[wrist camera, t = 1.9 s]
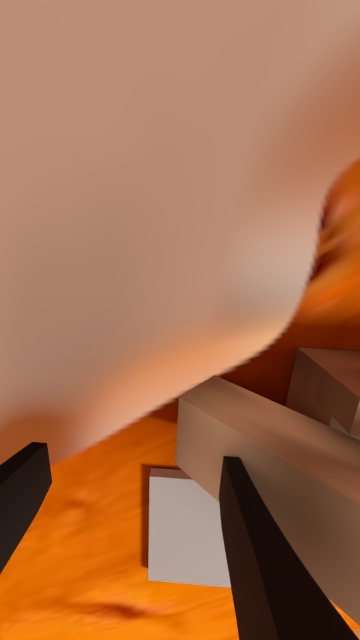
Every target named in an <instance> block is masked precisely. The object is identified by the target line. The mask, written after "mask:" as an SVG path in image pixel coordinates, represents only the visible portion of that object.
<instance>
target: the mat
mask: <svg viewBox="0 0 360 640" xmlns="http://www.w3.org/2000/svg"><path fill="white" fill-rule="evenodd" d="M148 580H151V581H163V582H174V583H185V584H196V585H207V586H219V587H230V588H231V583H230V577H229V571H228V565H227V559H226V553H225V547H224V541H223V535H222V529H221V518H220V505H219V502H218V501H217V500H216V499H215V498H214V497H212V496H211V495H210V494H209V493H208V492H207V491H206V490H204V489H203V488H202V487H201V486H200V485H199V484H198V483H196V482H195V481H194V480H193V479H192V478H191V477H190V476H188V475H187V474H186V473H185V472H184V471H183V470H174V469H160V468H151V472H150V485H149V558H148Z"/></svg>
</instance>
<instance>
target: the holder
mask: <svg viewBox="0 0 360 640" xmlns="http://www.w3.org/2000/svg"><path fill="white" fill-rule="evenodd" d="M285 407H287V408H289V409H291V410H294V411H296V412H298V413H300V414H302V415H305V416H307V417H309V418H311V419H314V420H316V421H318V422H320V423H323V424H325V425H327V426H329V427H332V428H334V429H336V430H338V431H340V432H343V433H345V434H347V435H349V436H352V437H354V438H356V439H358V440H360V351H354V350H337V349H320V348H303V347H297V351H296V356H295V361H294V366H293V371H292V376H291V381H290V386H289V391H288V396H287V401H286V406H285Z"/></svg>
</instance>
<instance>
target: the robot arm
mask: <svg viewBox="0 0 360 640" xmlns="http://www.w3.org/2000/svg"><path fill="white" fill-rule="evenodd" d="M51 483H52V477H51V470H50V463H49V455H48V448H47V443H38V442H32V443H30V444H29V445H27V446H26V447H25V448H23V449H22V450H20V451H19V452H18V453H16V454H15V455H13V456H12V457H11V458H9V459H8V460H7V461H6V462H4V463H3V464H1V465H0V574H1V572H2V570H3V569H4V567H5V566H6V564H7V562H8V561H9V559H10V557H11V556H12V554H13V552H14V551H15V549H16V547H17V546H18V544H19V543H20V541H21V539H22V538H23V536H24V534H25V533H26V531H27V529H28V528H29V526H30V524H31V523H32V521H33V519H34V518H35V516H36V514H37V512H38V510H39V508H40V506H41V504H42V502H43V500H44V498H45V496H46V494H47V492H48V490H49V488H50V485H51ZM219 505H220V518H221V529H222V535H223V541H224V547H225V553H226V559H227V565H228V571H229V577H230V583H231V589H232V595H233V601H234V607H235V613H236V619H237V626H238V633H239V640H359V639H358V638H357V636H356V635H355V634H354V632H353V631H352V630H351V629H350V627H349V626H348V625H347V623H346V622H345V621H344V619H343V618H342V617H341V615H340V614H339V613H338V611H337V610H336V609H335V607H334V606H333V605H332V603H331V602H330V601H329V599H328V598H327V597H326V595H325V594H324V592H323V591H322V590H321V588H320V587H319V585H318V584H317V583H316V581H315V580H314V579H313V577H312V576H311V574H310V573H309V571H308V570H307V569H306V567H305V566H304V564H303V563H302V561H301V560H300V558H299V557H298V555H297V554H296V552H295V551H294V549H293V548H292V546H291V545H290V543H289V542H288V540H287V539H286V537H285V536H284V534H283V532H282V531H281V529H280V528H279V526H278V524H277V523H276V521H275V520H274V518H273V516H272V515H271V513H270V511H269V510H268V508H267V506H266V505H265V503H264V501H263V499H262V498H261V496H260V494H259V492H258V491H257V489H256V487H255V485H254V484H253V482H252V480H251V478H250V476H249V474H248V472H247V470H246V468H245V466H244V464H243V462H242V460H241V459H240V458H239V457H231V456H223V464H222V472H221V480H220V488H219Z"/></svg>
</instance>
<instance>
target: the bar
mask: <svg viewBox="0 0 360 640" xmlns="http://www.w3.org/2000/svg"><path fill="white" fill-rule="evenodd" d="M223 456H231V457H239V458H240V459H241V460H242V462H243V464H244V466H245V468H246V470H247V472H248V474H249V476H250V478H251V480H252V482H253V484H254V485H255V487H256V489H257V491H258V492H259V494H260V496H261V498H262V499H263V501H264V503H265V505H266V506H267V508H268V510H269V511H270V513H271V515H272V516H273V518H274V520H275V521H276V523H277V524H278V526H279V528H280V529H281V531H282V532H283V534H284V536H285V537H286V539H287V540H288V542H289V543H290V545H291V546H292V548H293V549H294V551H295V552H296V554H297V555H298V557H299V558H300V560H301V561H302V563H303V564H304V566H305V567H306V569H307V570H308V571H309V573H310V574H311V576H312V577H313V579H314V580H315V581H316V583H317V584H318V585H319V587H320V588H321V590H322V591H323V592H324V594H325V595H326V596H327V597H328V598H329V599H330V600H331V601H332V602H333V603H335V604H336V605H337V606H338V607H339V608H340V609H341V610H342V611H344V612H345V613H346V614H347V615H348V616H349V617H350V618H352V619H353V620H354V621H355V622H356V623H357V624H358V625H360V440H358V439H356V438H354V437H352V436H349V435H347V434H345V433H343V432H340V431H338V430H336V429H334V428H332V427H329V426H327V425H325V424H323V423H320V422H318V421H316V420H314V419H311V418H309V417H307V416H305V415H302V414H300V413H298V412H296V411H294V410H291V409H289V408H287V407H285V406H282V405H280V404H278V403H276V402H273V401H271V400H269V399H267V398H264V397H262V396H260V395H258V394H256V393H253V392H251V391H249V390H247V389H244V388H242V387H240V386H238V385H235V384H233V383H231V382H229V381H227V380H224V379H222V378H220V377H218V376H213V377H211V378H210V379H208V380H206V381H205V382H203V383H201V384H200V385H198V386H196V387H195V388H193V389H191V390H190V391H188V392H186V393H185V394H183V395H181V396H180V397H179V405H178V424H177V444H176V463H175V464H176V465H177V466H178V467H179V468H180V469H182V470H183V471H184V472H185V473H186V474H187V475H188V476H190V477H191V478H192V479H193V480H194V481H195V482H196V483H198V484H199V485H200V486H201V487H202V488H203V489H204V490H206V491H207V492H208V493H209V494H210V495H211V496H212V497H214V498H215V499H216V500H217V501H218V502H219V488H220V480H221V472H222V464H223Z"/></svg>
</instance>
